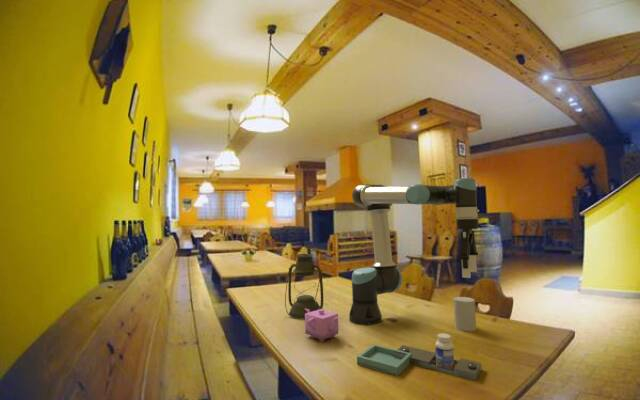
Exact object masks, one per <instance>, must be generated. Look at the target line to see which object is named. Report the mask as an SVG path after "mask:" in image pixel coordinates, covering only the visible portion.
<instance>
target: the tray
mask: <svg viewBox="0 0 640 400" xmlns="http://www.w3.org/2000/svg"><path fill="white" fill-rule="evenodd" d="M394 352H396V353H400V354H404V355H406V356H405V357H404V358H403V359H399V358H396V357H393V353H394ZM411 355H412V353H408V352H404V351H400V350H397V349H394V348H390V347H387V346H383V345H378V344H373V345H371V346H369V347H368V348H367V349H365V350H364V351H362V352H361V353H359V354H358V355H356V364H357V365H358V366H362V367H366V368H369V369H372V370H375V371H379V372H382V373H386V374H389V375H392V376H396V377H398V376H399V375H401V373H402V372H403V371H404V370H406V368H408V366H409V365H411V364H410V356H411Z"/></svg>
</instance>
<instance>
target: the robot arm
mask: <svg viewBox="0 0 640 400" xmlns="http://www.w3.org/2000/svg"><path fill="white" fill-rule="evenodd" d="M477 190H478V189H477V184H476V179H475V178H473V177H461V178H456V179H455V180H454V182H453V184H452V185H451V184H450V185H429V184H427V185H426V184H417V183H416V184H413V185H392V186H388V185H384V184H370V183H369V184H368V183H367V184H366V183H362V184H359V185H357V186H355V188H354V189H353V190H352V194H351V199H352V201H353V203H354V204H355V205H356V206H358V207H360V208H366V212H367V213H368V214H369V216H370V224H371V233H372V243H373V253H374V254H373V255H374V256H373V257H374V262H373V264H372V266H371V267H369V266H367V267H361V268H357V269H355V270H353V272H352V274H351V289H352V290H351V292H352V295H351V296H352V304H351V307H350V311H349V314H348V317H349V321H350V322H351V323H354V324H358V325H375V324H379V323H381V322H382V319H383V318H382V312H381V310H380V307H379V306H380V305H379V304H378V295H383V294H386V293H387V294H388V293H390V294H391V293H393V292H396V291H398V290H400V288H401V286H402V283H403V275H402V273H401V271H400V269H399V268H397V265H396V263H395V262H394V261H393V257H392V256H393V255H392V254H393V253H392V245H391V237H390V236H391V235H390V225H389V215H388V214H389V212H390V211H391V207H392V205H396V204H398V205H399V204H401V205H433V206H441V205H453V204H454V205H455V218H456V221H455V222H456V228H457V230H462V231H460V247H459V249H460V250H459V251H460V252H459V256H458V260H461V261H460V262H461V277H462V278H466V279H471V278H472V277H471V276H472V274H471V273H478V269H477V268H478V267H477V256H479V252H478V251H477V246H476V238H475V230H477V229H479V220H478V219H477V218H478V213H479V212H480V209H478V204H477V203H478V201H477V199H478V198H477Z"/></svg>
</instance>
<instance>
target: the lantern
mask: <svg viewBox="0 0 640 400" xmlns="http://www.w3.org/2000/svg"><path fill="white" fill-rule="evenodd" d="M295 257H297V258H296V259H297V260H296V262H295V263H293V264H291V265H290V267H288V272H287V279H286V286H285V291H287V288H288V303H289V305H290V307H291V308H290V309H289V312H288V309H287V292H284V293H285V294H284V296H285V297H284V304H285V305H284V307H285V311H286V313H287V314H288V316H289V317H291V318H293V319H298V320H299V319H301V320H305V314H306V313H307V311H306V310H305V309H309V310H310V312H312V311H316V310H319V309H324V308H323V307H324V284H323V283H324V282H323V275H322V272H323V270H322V269H321V267H320V266H319V265H317V264H315V263H314V260H313V257H314V255H312V254H311V253H300V254H297V255H296V256H295ZM293 268H294V269H293ZM316 271H318V277H319V278H318V279H319V280H318V285H317V283H316V282H314V284H315V285H314V287H315V286H317V288H316V294H315V297H314V296H312V295H309V294H302V292H300V291H298V293H299V295H298V296H297V297H295V298H294V300H293V301H294V302H292V273H295V274H296V276H297V277H299V279H301V278H303V277H309V276H314V274H315V272H316ZM303 279H304V280H306V281H308V279H307V278H303ZM297 281H298V279H296V280H295V282H294V284H293V287H294V289H296V287H295V286H296V285H295V284H296V282H297ZM310 282H312V283H313V281H311V280H310ZM319 286H320V290H319ZM308 290H309V288H308V289H306V290H304V292H306V291H308ZM318 292H320V304H319V302H318V301H317V296H318V295H317V294H318ZM300 294H301V295H300Z"/></svg>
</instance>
